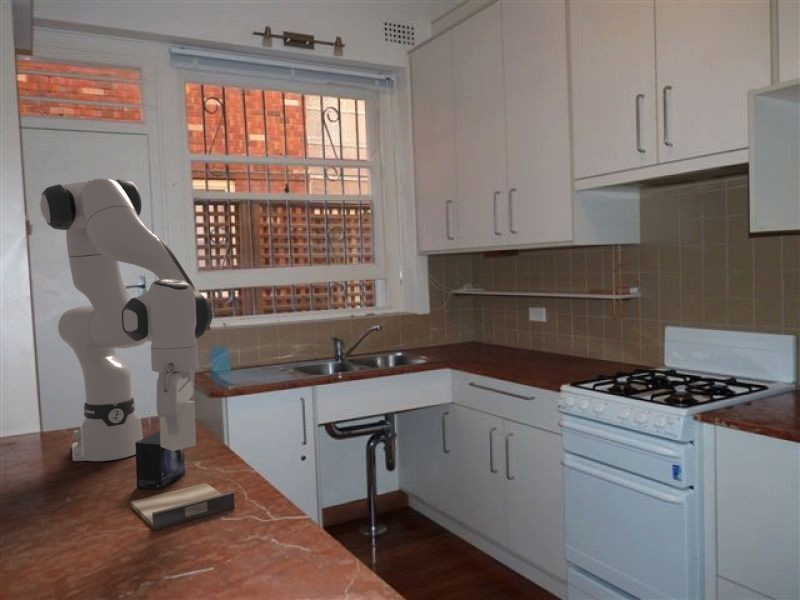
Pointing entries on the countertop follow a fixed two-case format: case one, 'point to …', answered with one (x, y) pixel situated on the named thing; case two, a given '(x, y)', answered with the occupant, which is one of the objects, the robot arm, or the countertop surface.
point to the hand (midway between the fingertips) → (177, 428)
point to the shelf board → (182, 505)
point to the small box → (157, 463)
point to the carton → (180, 429)
